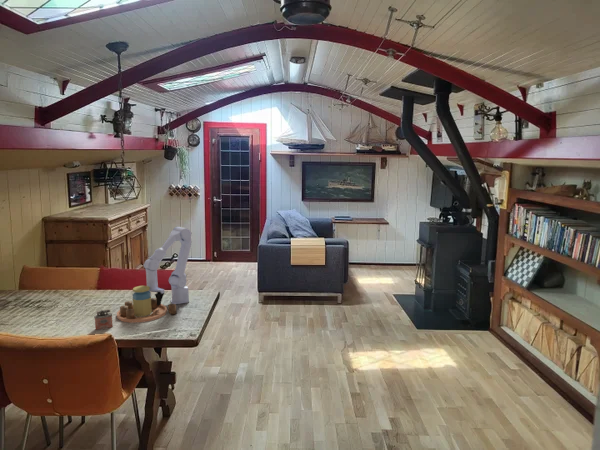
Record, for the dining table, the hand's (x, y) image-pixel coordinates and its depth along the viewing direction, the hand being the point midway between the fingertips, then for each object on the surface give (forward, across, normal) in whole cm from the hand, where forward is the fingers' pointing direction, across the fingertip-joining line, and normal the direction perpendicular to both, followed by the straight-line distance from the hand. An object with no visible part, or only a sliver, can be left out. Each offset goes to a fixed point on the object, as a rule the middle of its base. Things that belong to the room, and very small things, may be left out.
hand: (153, 304), depth 242 cm
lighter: (+3, -4, -32) cm, 32 cm away
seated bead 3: (+2, 0, -18) cm, 18 cm away
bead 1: (+2, 0, 0) cm, 2 cm away
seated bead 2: (+2, -9, -9) cm, 13 cm away
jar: (+3, 0, -9) cm, 9 cm away
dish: (+3, 0, -9) cm, 9 cm away
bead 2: (+3, +14, -2) cm, 15 cm away
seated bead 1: (+2, -6, -15) cm, 17 cm away
